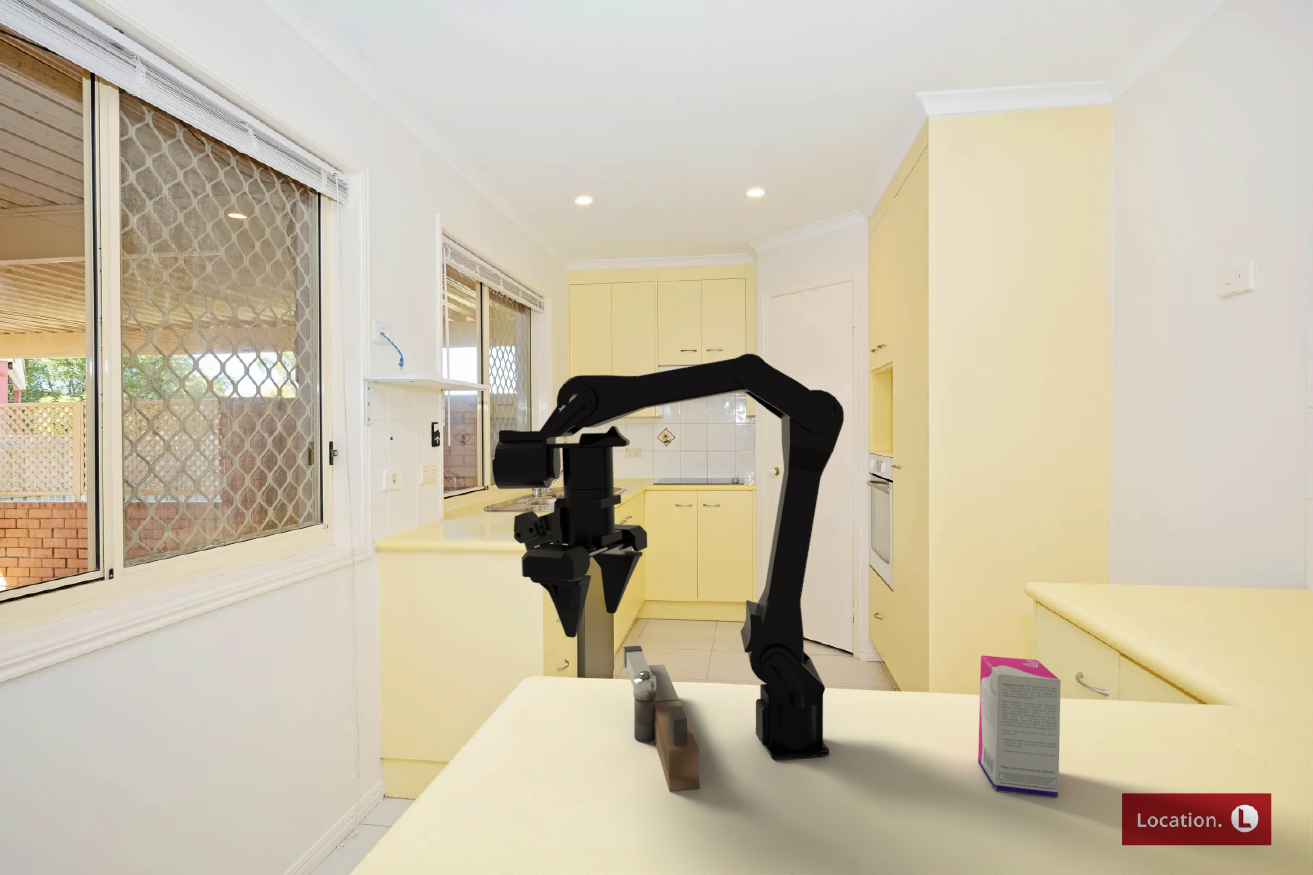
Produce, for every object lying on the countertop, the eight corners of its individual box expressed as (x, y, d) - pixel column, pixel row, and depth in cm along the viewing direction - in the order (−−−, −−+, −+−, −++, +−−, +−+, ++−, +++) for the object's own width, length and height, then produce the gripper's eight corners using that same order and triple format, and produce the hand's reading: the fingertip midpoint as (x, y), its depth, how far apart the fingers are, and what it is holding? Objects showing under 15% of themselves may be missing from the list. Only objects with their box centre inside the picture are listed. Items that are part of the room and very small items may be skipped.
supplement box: (1061, 798, 60) (1062, 679, 60) (994, 791, 61) (994, 674, 61) (1037, 766, 66) (1038, 657, 65) (976, 760, 67) (976, 653, 67)
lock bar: (658, 700, 71) (658, 676, 71) (635, 701, 70) (635, 677, 70) (641, 662, 82) (641, 641, 82) (622, 663, 82) (622, 642, 82)
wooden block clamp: (664, 694, 83) (664, 645, 83) (699, 788, 62) (699, 722, 62) (625, 696, 83) (625, 647, 83) (646, 792, 61) (646, 726, 61)
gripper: (571, 480, 83) (574, 597, 83) (477, 494, 66) (481, 642, 66) (647, 480, 79) (650, 604, 79) (568, 497, 62) (572, 655, 62)
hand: (592, 624), depth 72 cm, fingers open, 9 cm apart
